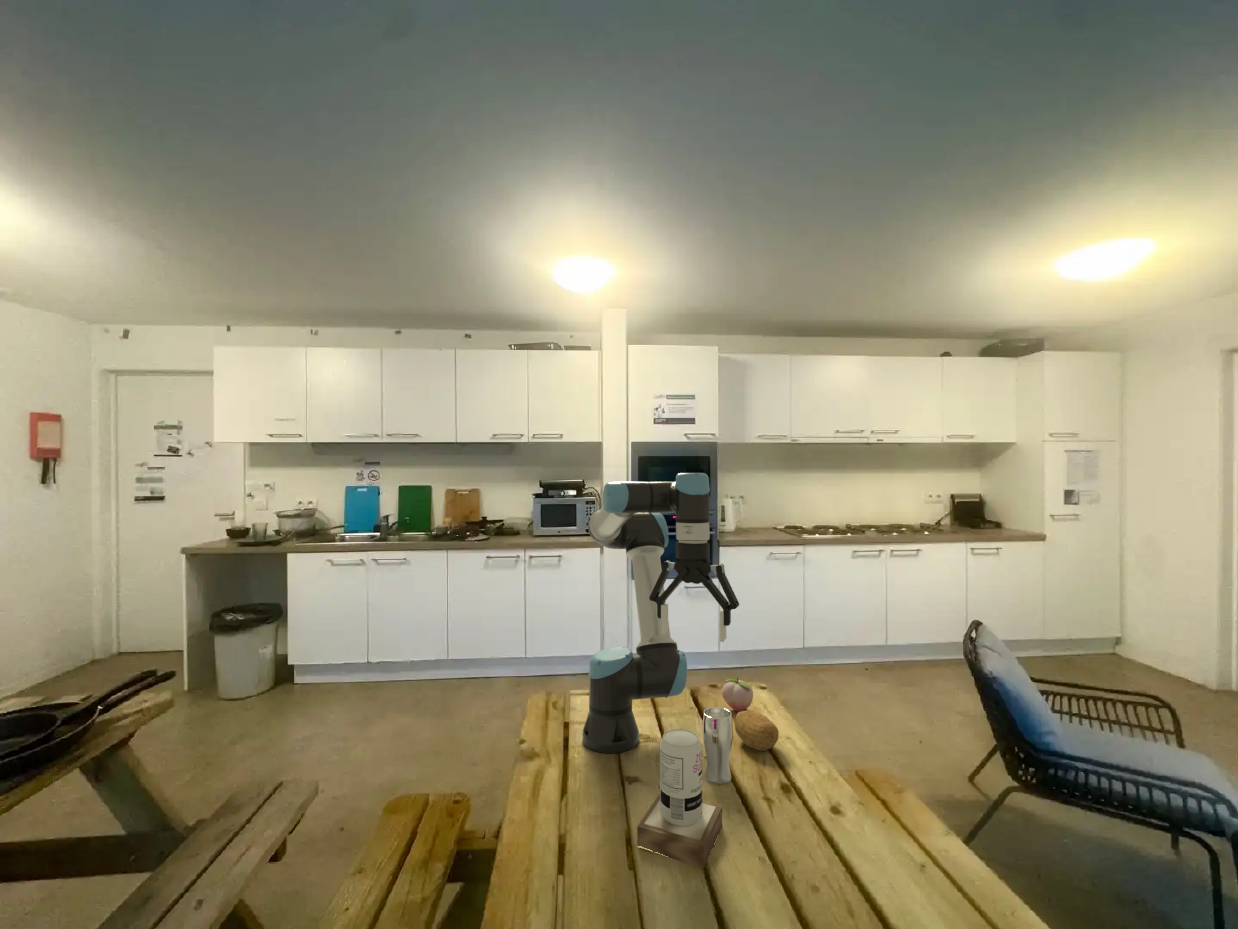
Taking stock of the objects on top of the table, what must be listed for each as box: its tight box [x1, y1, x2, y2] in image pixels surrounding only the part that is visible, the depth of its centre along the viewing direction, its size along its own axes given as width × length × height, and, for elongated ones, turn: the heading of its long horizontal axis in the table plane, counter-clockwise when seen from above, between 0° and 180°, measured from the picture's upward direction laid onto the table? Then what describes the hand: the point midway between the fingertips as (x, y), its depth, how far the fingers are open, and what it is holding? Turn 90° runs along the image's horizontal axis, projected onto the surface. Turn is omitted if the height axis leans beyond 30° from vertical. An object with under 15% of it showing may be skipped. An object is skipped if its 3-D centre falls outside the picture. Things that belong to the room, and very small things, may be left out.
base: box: [636, 793, 723, 869], centre depth 105 cm, size 13×13×4 cm
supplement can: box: [659, 728, 703, 826], centre depth 106 cm, size 8×8×15 cm
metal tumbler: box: [702, 706, 734, 785], centre depth 127 cm, size 7×7×15 cm
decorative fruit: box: [721, 677, 754, 712], centre depth 164 cm, size 9×8×10 cm
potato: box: [734, 709, 780, 752], centre depth 142 cm, size 10×14×8 cm
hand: (693, 636), depth 121 cm, fingers open, 13 cm apart
